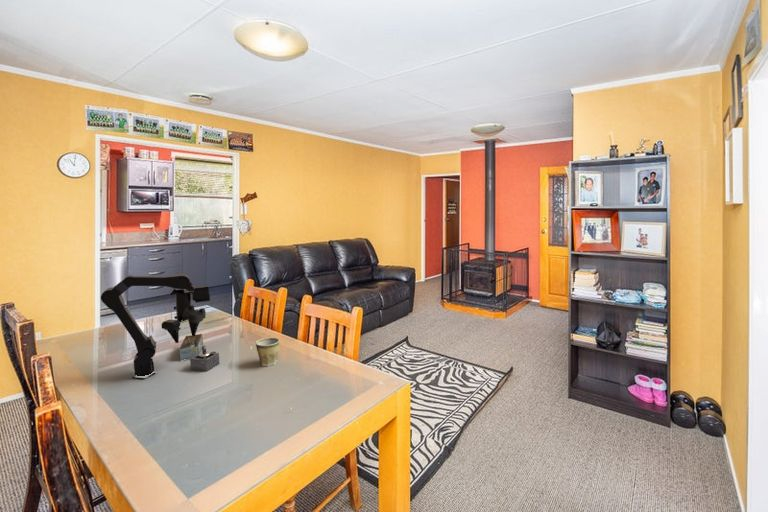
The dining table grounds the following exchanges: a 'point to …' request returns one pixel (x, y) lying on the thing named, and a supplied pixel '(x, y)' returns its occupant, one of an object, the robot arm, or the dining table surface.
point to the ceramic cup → (268, 351)
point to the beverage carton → (191, 346)
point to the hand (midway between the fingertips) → (185, 339)
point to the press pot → (204, 362)
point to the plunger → (204, 352)
